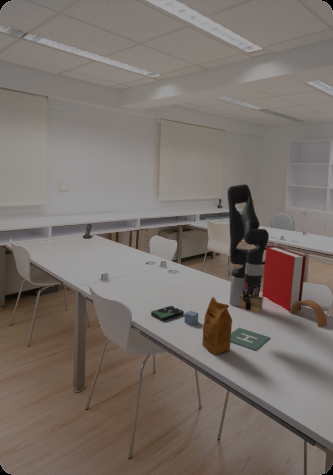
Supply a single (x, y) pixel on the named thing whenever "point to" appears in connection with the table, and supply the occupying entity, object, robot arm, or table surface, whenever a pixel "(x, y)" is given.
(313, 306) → the arch
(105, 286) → the table surface
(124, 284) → the table surface
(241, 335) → the letter board
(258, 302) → the block
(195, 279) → the table surface
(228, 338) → the coffee package
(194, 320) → the blue cube
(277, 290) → the book
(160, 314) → the disk drive
